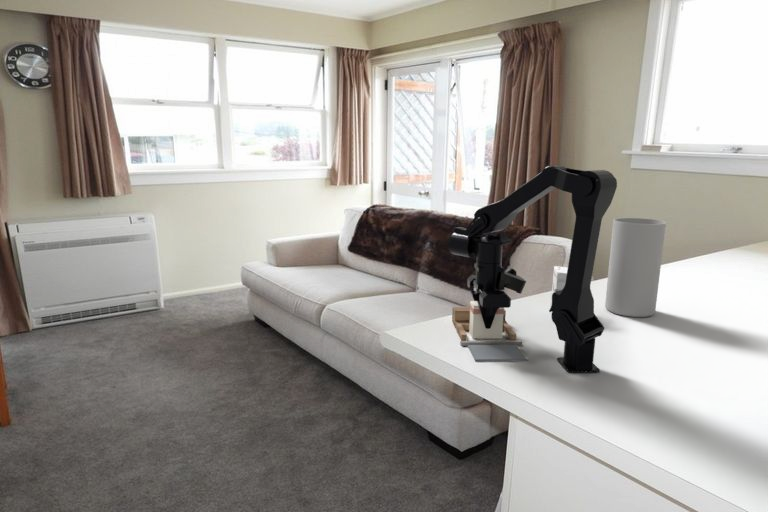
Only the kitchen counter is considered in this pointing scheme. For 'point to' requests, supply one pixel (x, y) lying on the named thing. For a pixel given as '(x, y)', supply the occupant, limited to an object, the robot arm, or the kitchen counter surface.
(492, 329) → the block
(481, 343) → the cradle
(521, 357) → the mat
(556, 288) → the ink box
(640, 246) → the cylinder vase
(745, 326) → the kitchen counter surface
